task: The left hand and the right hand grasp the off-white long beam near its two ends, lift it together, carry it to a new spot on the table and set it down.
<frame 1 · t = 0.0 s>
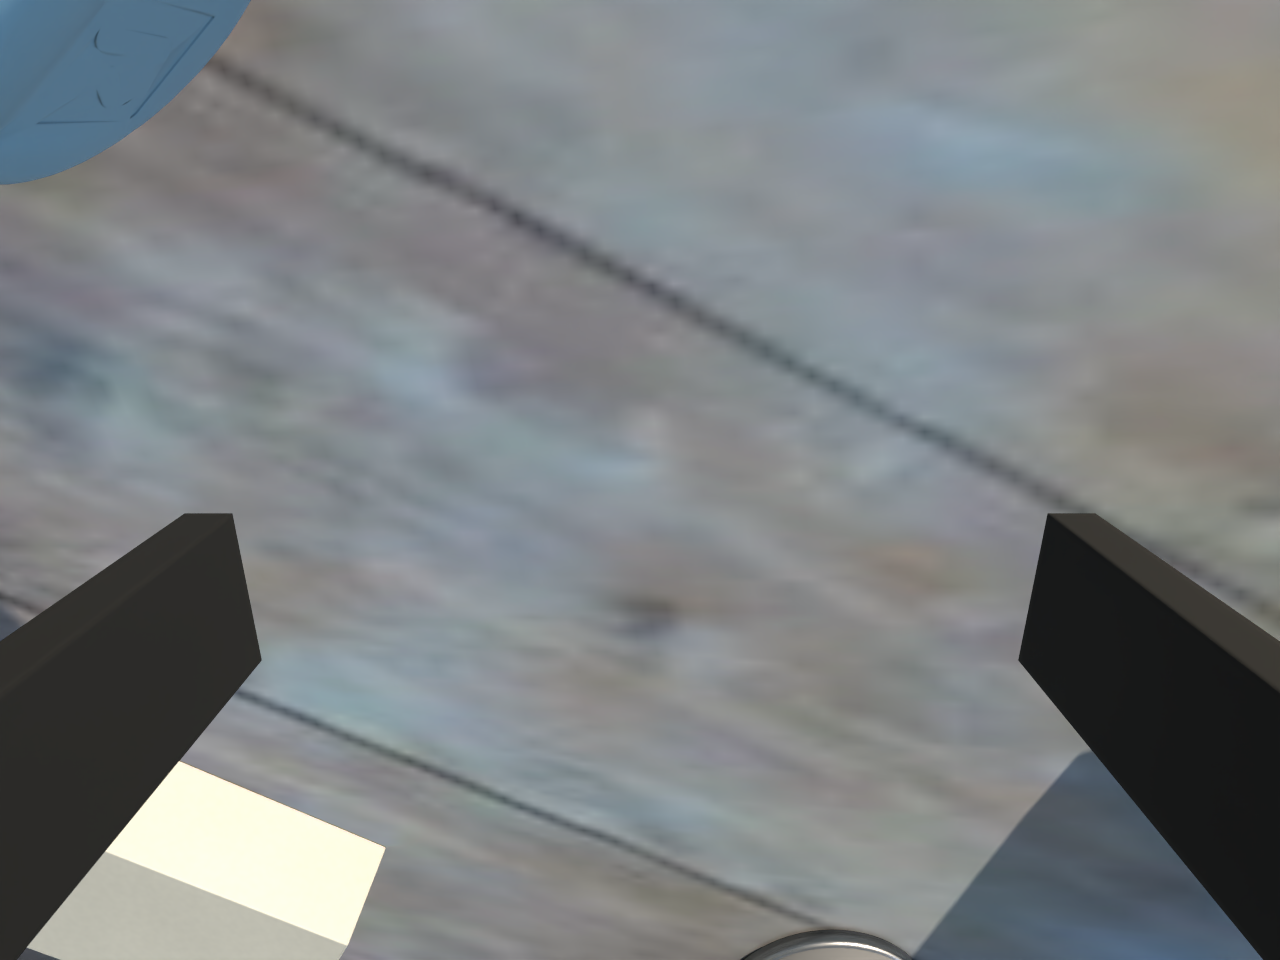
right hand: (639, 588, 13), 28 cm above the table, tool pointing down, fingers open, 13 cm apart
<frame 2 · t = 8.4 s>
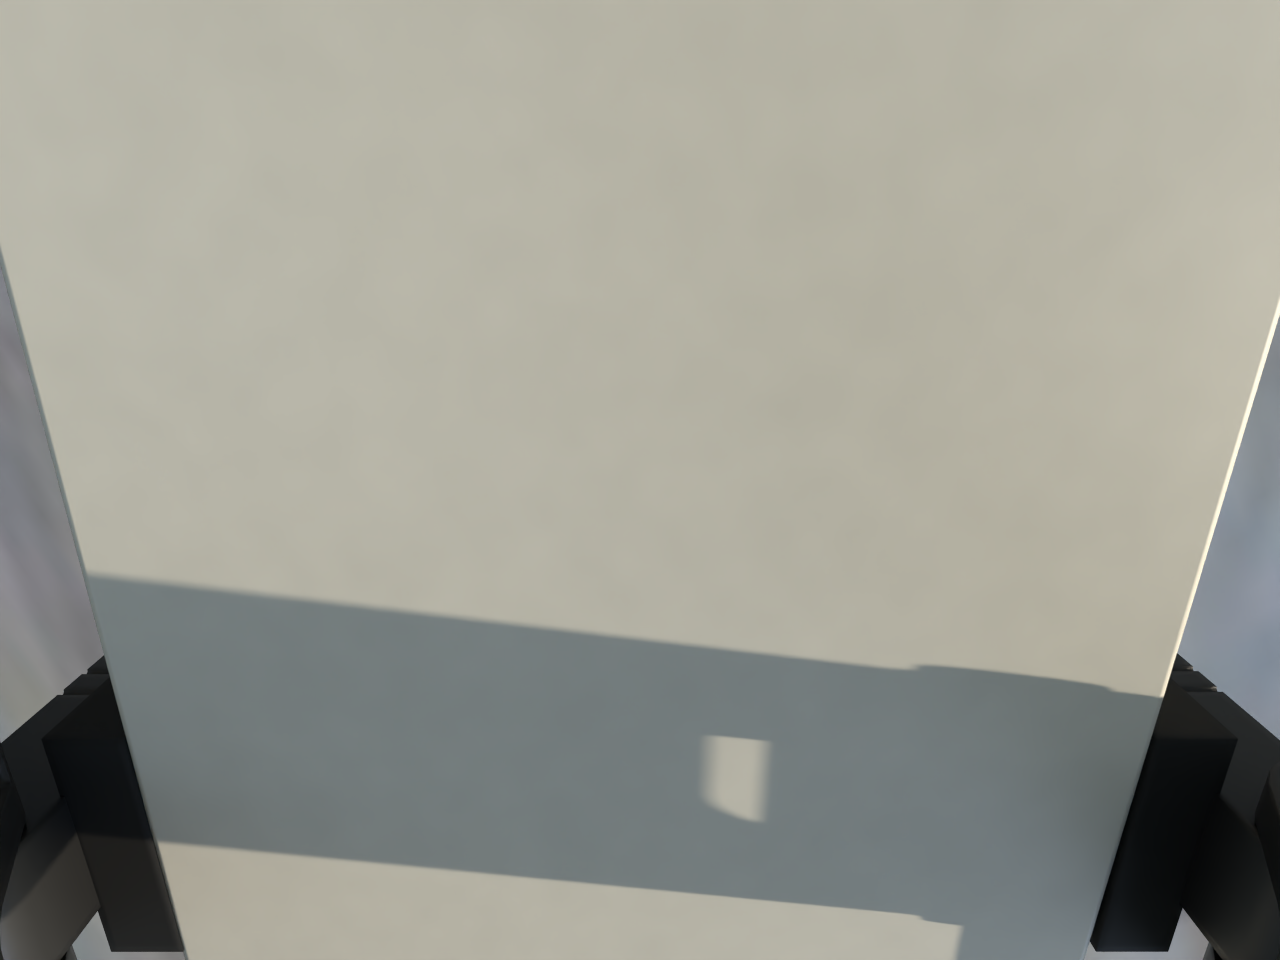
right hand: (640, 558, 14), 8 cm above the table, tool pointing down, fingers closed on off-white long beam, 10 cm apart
when the right hand's fingers open (2 cm above the table, at t = 10.6 s): off-white long beam drops 1 cm, on the table.
when the left hand's fingers open (2 cm above the table, at t = 10.7 s): off-white long beam drops 1 cm, on the table.
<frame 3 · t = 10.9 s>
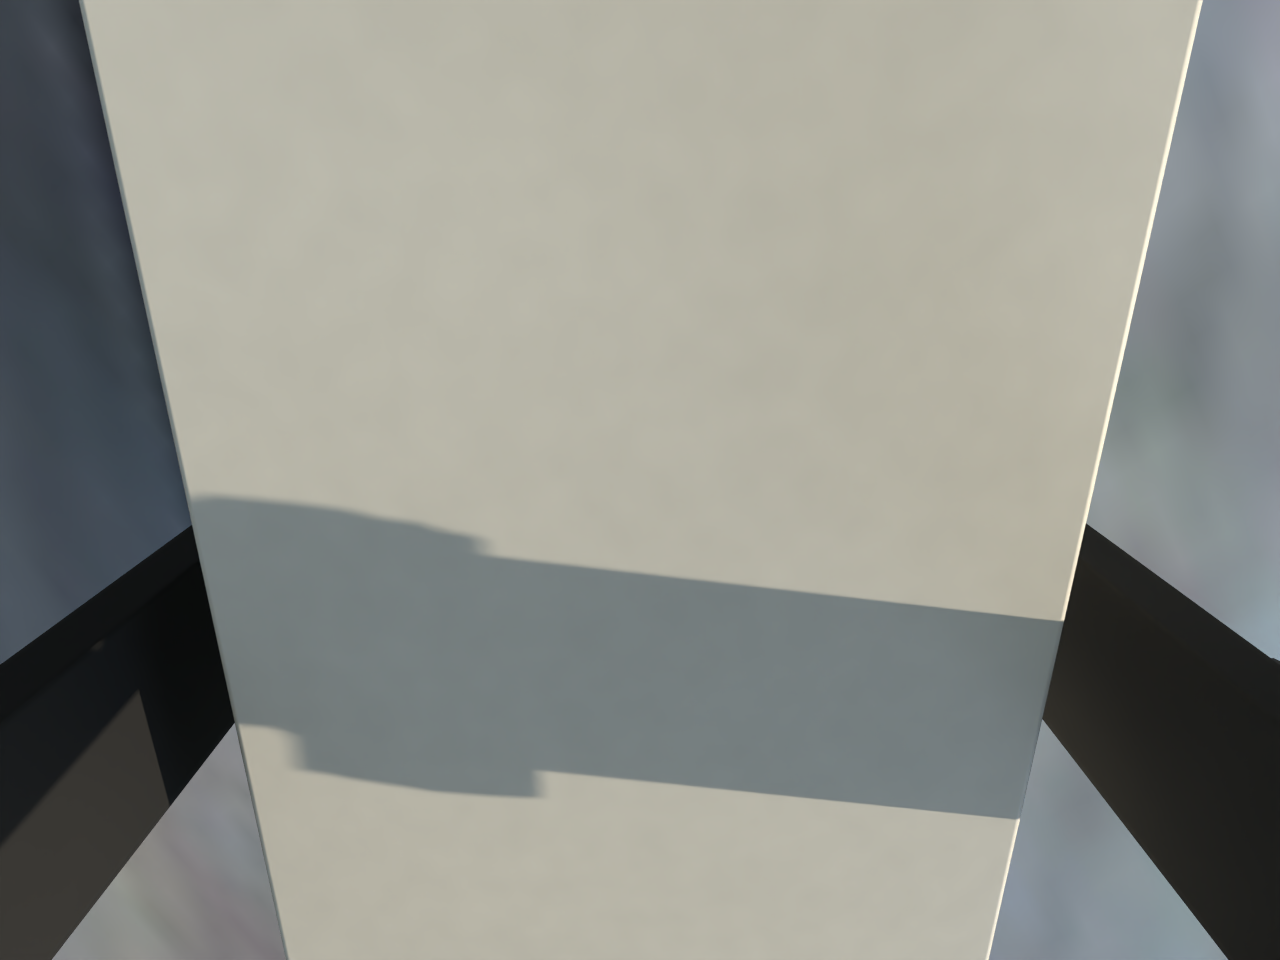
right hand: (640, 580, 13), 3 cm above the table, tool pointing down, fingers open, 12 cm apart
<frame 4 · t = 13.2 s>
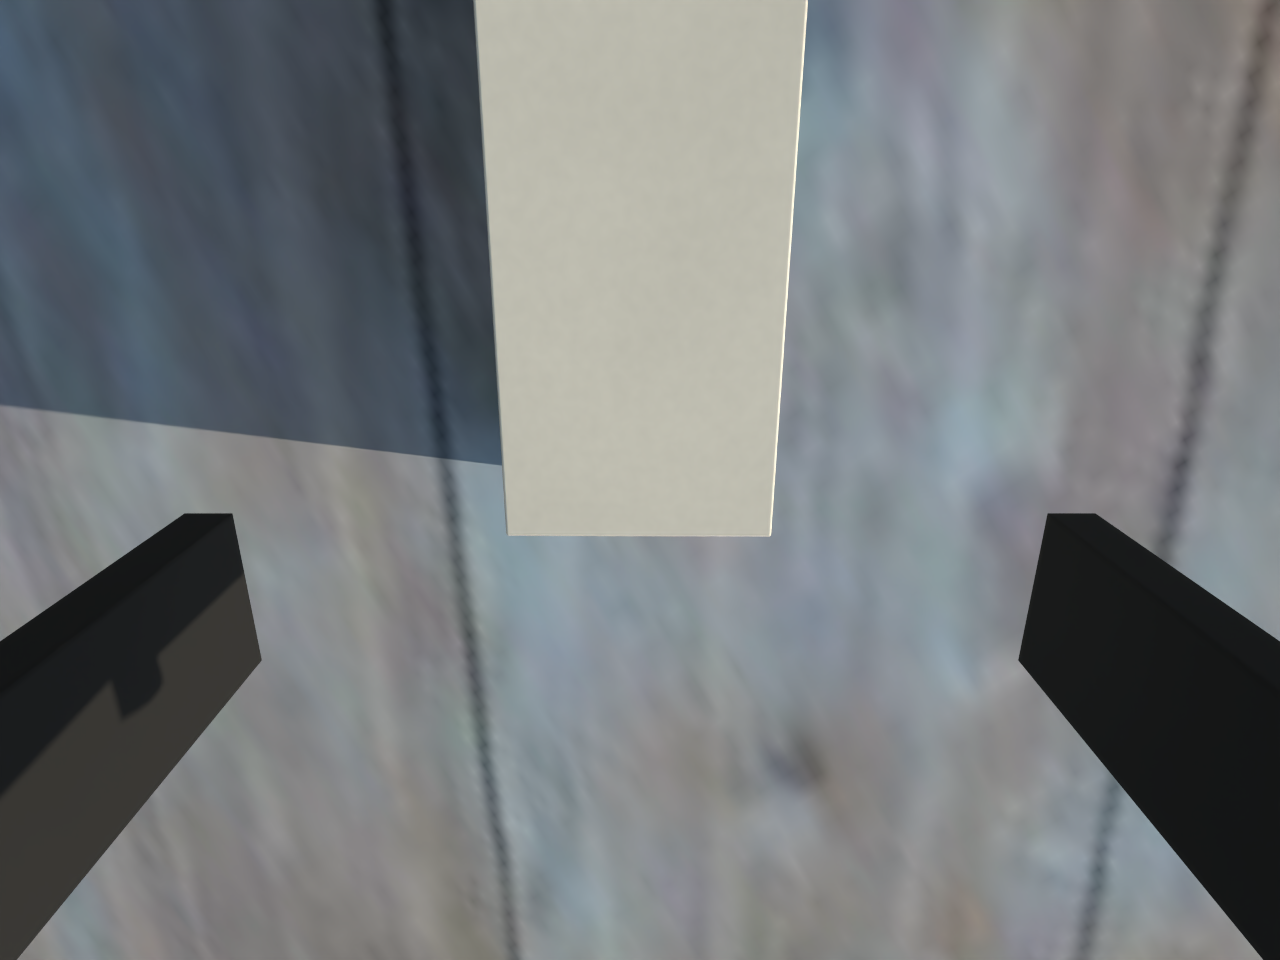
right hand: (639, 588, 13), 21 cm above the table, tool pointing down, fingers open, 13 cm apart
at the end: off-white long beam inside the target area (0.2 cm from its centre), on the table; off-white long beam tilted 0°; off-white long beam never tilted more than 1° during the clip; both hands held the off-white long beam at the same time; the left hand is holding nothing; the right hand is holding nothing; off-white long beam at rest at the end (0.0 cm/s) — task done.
